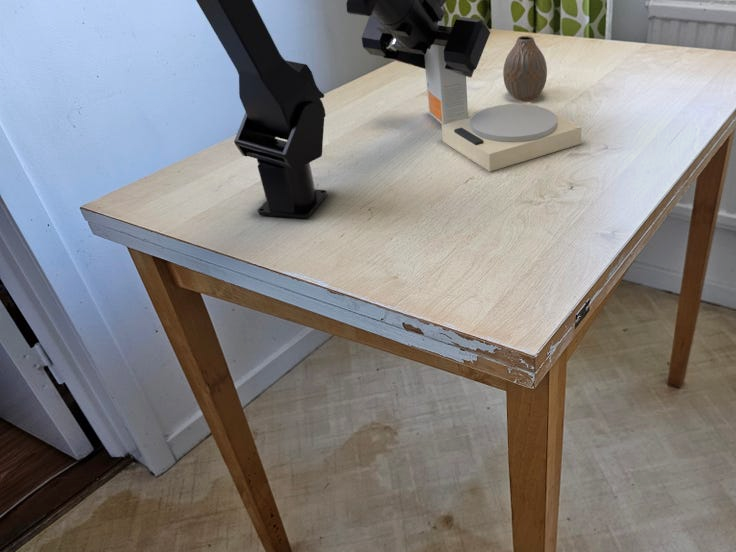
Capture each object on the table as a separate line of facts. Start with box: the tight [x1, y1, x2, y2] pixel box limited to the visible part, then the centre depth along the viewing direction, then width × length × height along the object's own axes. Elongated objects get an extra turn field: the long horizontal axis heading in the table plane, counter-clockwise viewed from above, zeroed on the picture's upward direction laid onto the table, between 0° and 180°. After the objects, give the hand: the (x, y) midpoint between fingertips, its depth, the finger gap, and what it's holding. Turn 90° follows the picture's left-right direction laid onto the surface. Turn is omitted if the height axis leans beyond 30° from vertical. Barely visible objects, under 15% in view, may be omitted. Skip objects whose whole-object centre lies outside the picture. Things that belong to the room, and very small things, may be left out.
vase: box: [502, 35, 548, 101], centre depth 105 cm, size 7×7×9 cm
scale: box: [441, 101, 583, 173], centre depth 92 cm, size 15×12×3 cm
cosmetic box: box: [424, 44, 469, 126], centre depth 97 cm, size 6×4×12 cm
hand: (451, 70), depth 98 cm, fingers closed on cosmetic box, 7 cm apart
